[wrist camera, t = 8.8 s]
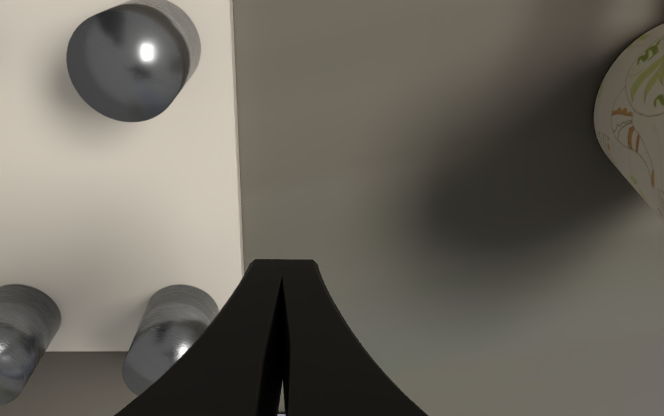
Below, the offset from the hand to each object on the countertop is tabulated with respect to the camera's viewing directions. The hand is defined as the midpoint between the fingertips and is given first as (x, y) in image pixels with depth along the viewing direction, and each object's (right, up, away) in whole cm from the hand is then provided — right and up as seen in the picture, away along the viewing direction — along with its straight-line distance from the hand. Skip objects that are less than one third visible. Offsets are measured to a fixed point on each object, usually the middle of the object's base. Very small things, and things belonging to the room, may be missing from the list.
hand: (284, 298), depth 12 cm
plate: (-11, +3, +9) cm, 14 cm away
